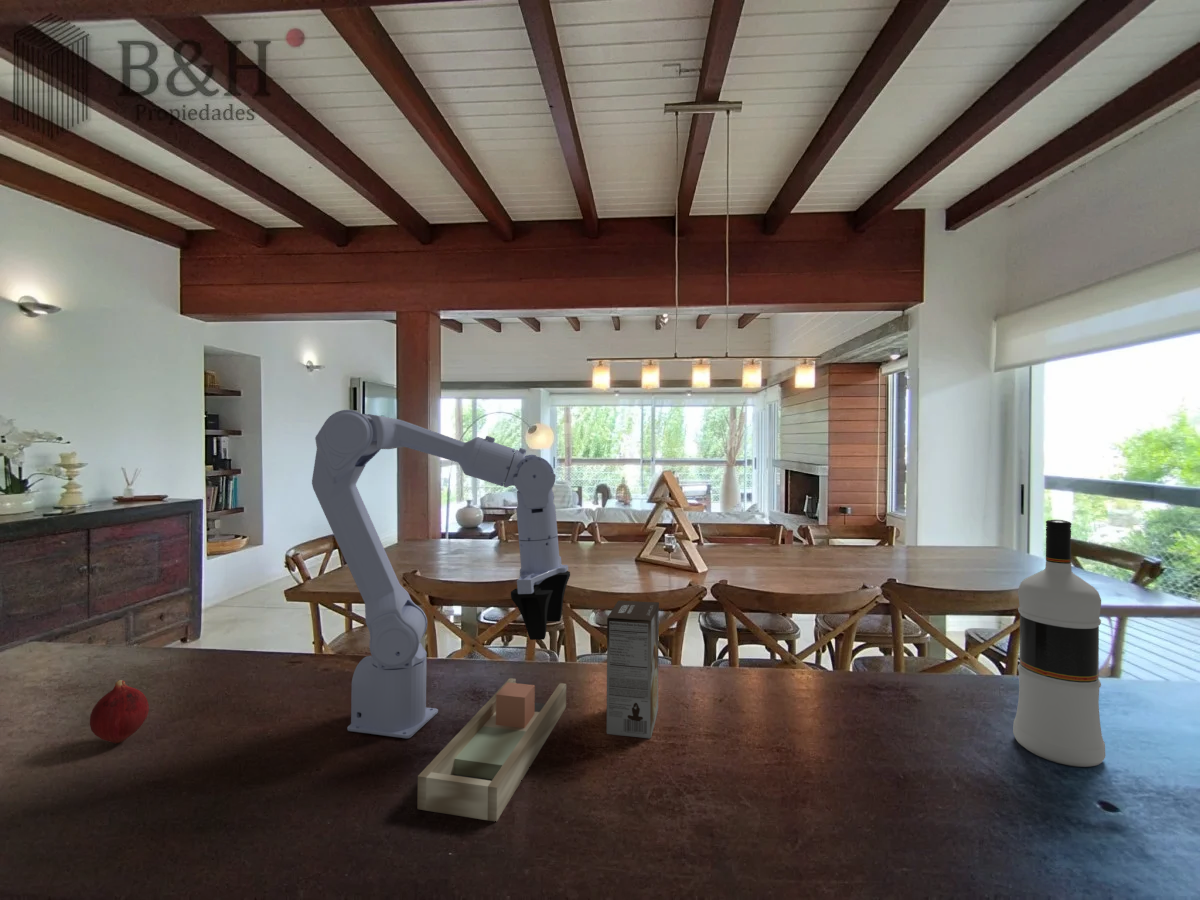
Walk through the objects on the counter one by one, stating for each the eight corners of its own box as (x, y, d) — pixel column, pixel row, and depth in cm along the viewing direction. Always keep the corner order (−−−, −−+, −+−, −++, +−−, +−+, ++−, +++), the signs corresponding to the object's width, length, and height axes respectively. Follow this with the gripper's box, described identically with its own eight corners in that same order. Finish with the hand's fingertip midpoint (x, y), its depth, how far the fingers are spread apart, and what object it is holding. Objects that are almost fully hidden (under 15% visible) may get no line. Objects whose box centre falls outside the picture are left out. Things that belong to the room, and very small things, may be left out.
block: (495, 724, 74) (496, 694, 74) (507, 711, 78) (507, 682, 78) (524, 728, 73) (524, 697, 73) (534, 714, 77) (534, 685, 77)
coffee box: (616, 705, 84) (617, 598, 84) (659, 709, 83) (659, 601, 83) (605, 735, 75) (606, 616, 75) (652, 740, 74) (653, 619, 74)
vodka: (996, 737, 75) (997, 516, 76) (1045, 728, 78) (1046, 515, 78) (1071, 776, 67) (1072, 525, 67) (1124, 764, 69) (1125, 523, 69)
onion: (157, 737, 73) (158, 676, 73) (104, 759, 68) (105, 693, 68) (133, 727, 76) (134, 669, 76) (79, 748, 71) (80, 685, 71)
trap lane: (417, 809, 59) (417, 776, 59) (509, 701, 85) (509, 678, 85) (496, 821, 57) (496, 787, 57) (566, 707, 83) (566, 683, 83)
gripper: (549, 546, 74) (557, 647, 74) (577, 527, 88) (584, 613, 88) (499, 548, 75) (508, 648, 75) (534, 530, 89) (541, 614, 89)
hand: (546, 629), depth 82 cm, fingers open, 7 cm apart
